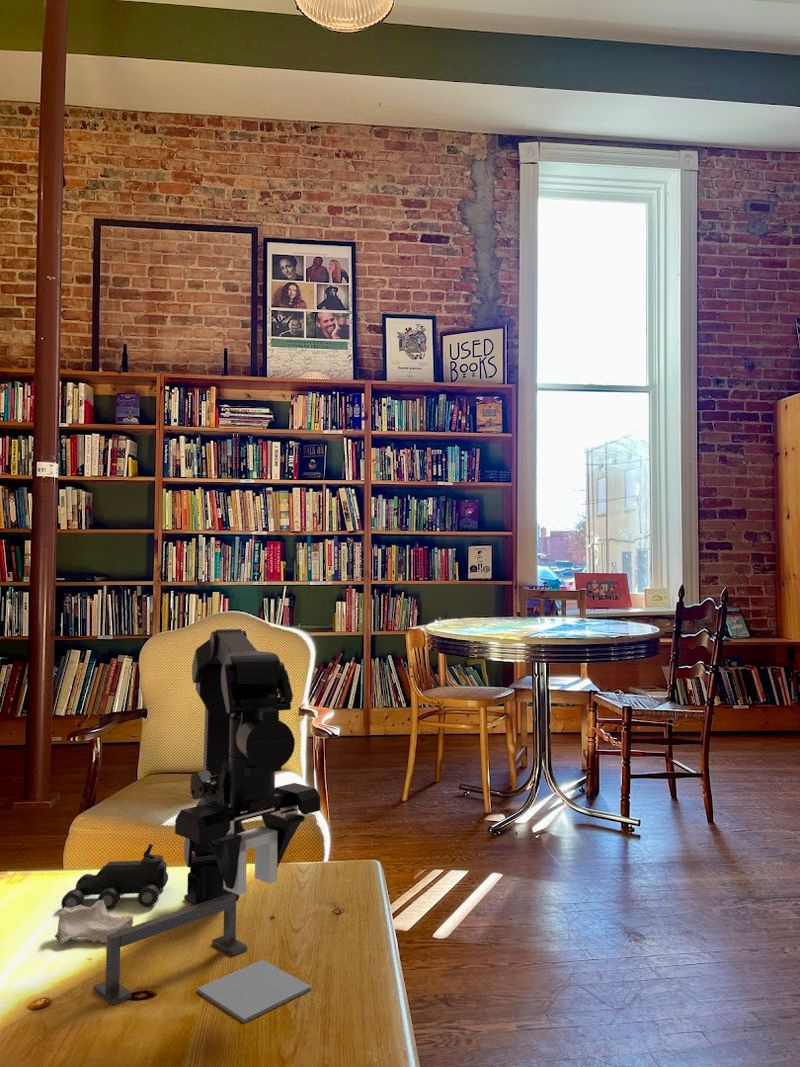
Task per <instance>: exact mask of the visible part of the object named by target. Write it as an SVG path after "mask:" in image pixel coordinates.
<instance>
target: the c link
mask: <svg viewBox="0 0 800 1067" xmlns="http://www.w3.org/2000/svg"><path fill="white" fill-rule="evenodd" d="M237 834H238V835H241V844H240V852H239V860H238V867H237V875H236V880H235V884H234V888H233V889H229V888H227V887H226V885H225V882H224V887H223V889H225V890H228V891H230V892H232V893H235V894H237V895H239V896H240V895H242V894H244V893H247V851H248V850H250V849H254V878H255V879H256V880H260V881H262V882H264V883H266V884H269V885H270V884H272V883H276V882H278V868H277V831H276V830H273V829H270V828H267V827H266V826H265V825H262V826H259V827H256V828H253V829H252V828H251V829H248V830H245V831H244V832H241V833H237Z"/></svg>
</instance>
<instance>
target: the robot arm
mask: <svg viewBox="0 0 800 1067" xmlns="http://www.w3.org/2000/svg"><path fill="white" fill-rule="evenodd" d="M191 666H192V667H191V679H192V683H193V684H195V692H196V693H197V695H198V696H199V698H200V700H201V701H202V704H204V705H203V706H204V732H203V735H204V736H203V760H202V761H203V765H202V768H203V769H202V771H198V772H195V773H193V774H191V775H190V786H189V788H190V794H191V798H192V799H193V800H198V802H197V804H196V805H195V806H192V807H188V808H184V809H181V810H180V811H179V812H178V814H177V816H176V817H175V821H174V826H175V828H174V834H175V835H177V836H180V837H182V838H185V839H184V842H183V854H184V855H183V859H184V861H185V864H186V867H187V868H189V872H188V873H187V886H186V887H187V891H186V892H187V894H185V895H184V896H183V900H185V901H187V902H189V903H191V904H192V905H197V904H200V903H203V902H205V901H208V900H211V899H214V898H217V897H220V896H223V895H227V894H230V893H232V892H230V891H228V890H225V889H223V887H224V882H225V885H226V887H227V888H229V889H233V888H234V884H235V880H236V875H237V867H238V860H239V852H240V844H241V835H238V834H237V833H241V832H244V831H246V830H245V828H244V826H243V823H242V822H243V821H247V820H251V819H254V818H258V817H261V818H262V820H263V824H264V827H267V828H270V829H273V830H276V831H277V869H278V868H279V865H280V863H281V861H282V859H283V857H284V855H285V853H286V852H287V851H286V850H287V848H288V846H289V844H290V842H291V840H292V839H293V837H294V836H295V833H296V831H297V830H298V828H299V826H300V824H301V823H303V822H305V820H306V817H305V816H306V815H309V814H312V813H316V812H320V811H321V796H320V793H319V791H318V789H317V788H315V787H313V786H308V785H304V784H299V783H296V782H293V783H289V784H285V785H280V786H275V785H276V782H275V781H276V772H279V771H282V767H283V766H285V765H286V763H288V762H289V760H290V759H291V757H292V755H293V754H294V751H295V745H296V740H295V736H294V734H293V731H292V730H291V728H290V727H289V726H288V725H287V724H286V723H285V722H283V721H282V720H280V711H291V709H292V701H293V698H294V694H293V691H292V686H291V682H290V678H289V672H288V671H287V669H286V668H285V663H284V662H283V661H281V660H280V658H279V655H278V654H276V653H274V652H271V651H259V650H257V649H256V648H255V646H254V645H253V643H252V642H251V641H250V640H249V639H248V635H247V632H246V630H242V629H241V628H231V629H230V628H228V629H226V628H224V629H215V631H211V632H210V636H209V639H208V640H206V641H205V642H204V643H202V644H201V645H199V647H197V648H196V649H195V653H194V656H193V660H192V665H191ZM299 812H300V813H301V814H302V815H301V814H299ZM304 815H305V816H304ZM232 894H235V893H232ZM235 895H236V900H238V899H240V894H239V895H237V894H235Z"/></svg>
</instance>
